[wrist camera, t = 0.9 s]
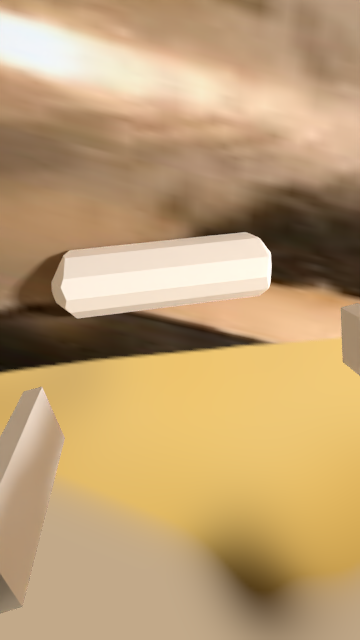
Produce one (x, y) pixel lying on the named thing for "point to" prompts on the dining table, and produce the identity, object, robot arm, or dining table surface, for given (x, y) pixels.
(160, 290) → the crystal
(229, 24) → the dining table surface
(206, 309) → the dining table surface
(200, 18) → the dining table surface
